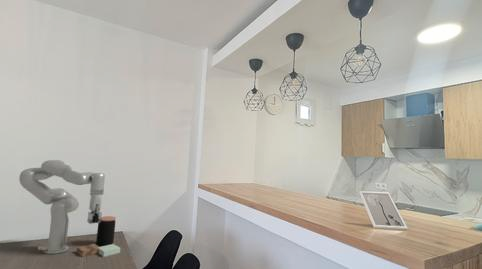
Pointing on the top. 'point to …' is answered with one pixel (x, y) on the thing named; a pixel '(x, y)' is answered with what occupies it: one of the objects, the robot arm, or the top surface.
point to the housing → (90, 217)
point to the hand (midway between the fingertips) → (94, 220)
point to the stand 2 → (109, 250)
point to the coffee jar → (106, 231)
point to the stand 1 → (88, 250)
